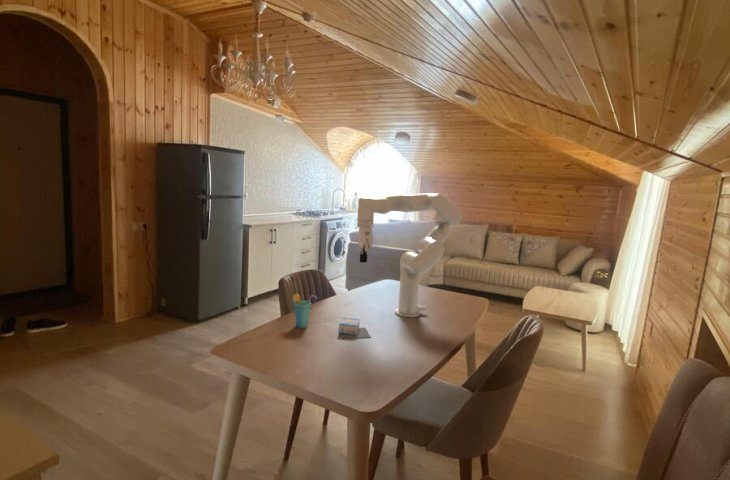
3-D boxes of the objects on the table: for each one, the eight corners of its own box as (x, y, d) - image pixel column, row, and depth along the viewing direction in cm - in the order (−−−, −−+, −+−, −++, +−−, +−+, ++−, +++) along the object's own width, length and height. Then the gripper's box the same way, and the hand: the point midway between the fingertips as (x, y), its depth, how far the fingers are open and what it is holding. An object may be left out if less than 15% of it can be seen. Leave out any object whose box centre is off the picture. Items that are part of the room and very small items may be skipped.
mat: (365, 328, 176) (365, 327, 176) (370, 337, 165) (370, 337, 165) (338, 329, 173) (338, 328, 173) (342, 338, 162) (342, 338, 162)
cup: (321, 326, 175) (323, 293, 173) (312, 332, 168) (313, 298, 166) (295, 320, 180) (296, 289, 178) (285, 326, 173) (286, 293, 171)
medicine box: (359, 318, 174) (357, 325, 165) (359, 328, 174) (356, 335, 166) (342, 317, 174) (338, 323, 166) (341, 327, 175) (338, 334, 166)
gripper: (376, 225, 178) (374, 265, 181) (369, 222, 193) (367, 259, 195) (360, 225, 177) (358, 265, 179) (354, 221, 191) (352, 258, 194)
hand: (363, 261), depth 187 cm, fingers closed
